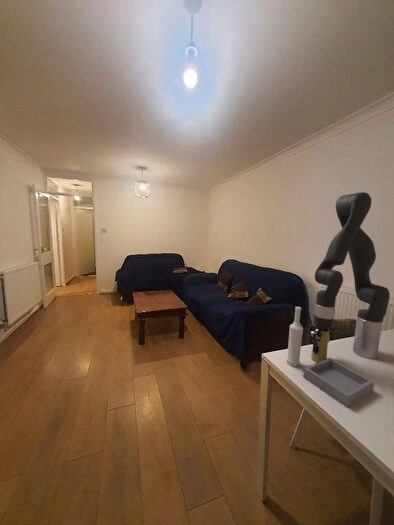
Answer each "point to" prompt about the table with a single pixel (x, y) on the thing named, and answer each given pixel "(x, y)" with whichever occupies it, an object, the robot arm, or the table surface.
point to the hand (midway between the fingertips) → (319, 351)
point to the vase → (321, 348)
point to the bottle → (295, 340)
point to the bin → (338, 381)
